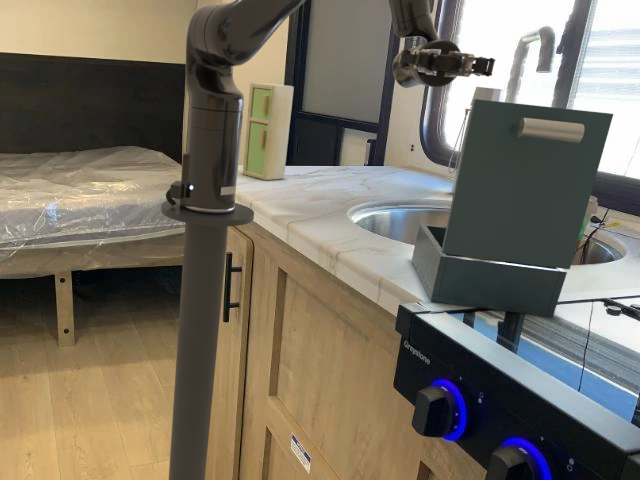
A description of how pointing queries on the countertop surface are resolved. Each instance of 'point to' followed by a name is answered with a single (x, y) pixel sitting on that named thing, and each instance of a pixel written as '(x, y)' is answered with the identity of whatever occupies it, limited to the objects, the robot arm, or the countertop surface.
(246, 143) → the toy refrigerator
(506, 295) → the freezer
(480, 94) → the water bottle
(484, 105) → the freezer lid
